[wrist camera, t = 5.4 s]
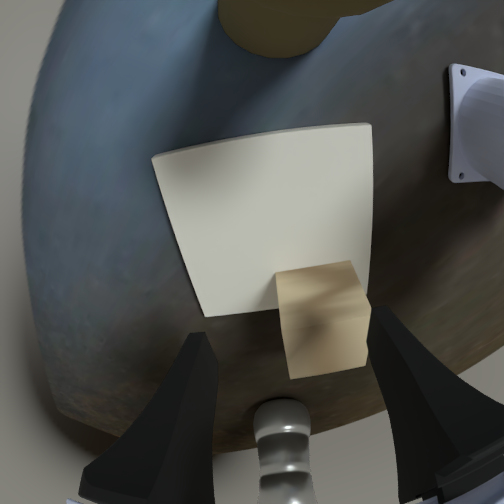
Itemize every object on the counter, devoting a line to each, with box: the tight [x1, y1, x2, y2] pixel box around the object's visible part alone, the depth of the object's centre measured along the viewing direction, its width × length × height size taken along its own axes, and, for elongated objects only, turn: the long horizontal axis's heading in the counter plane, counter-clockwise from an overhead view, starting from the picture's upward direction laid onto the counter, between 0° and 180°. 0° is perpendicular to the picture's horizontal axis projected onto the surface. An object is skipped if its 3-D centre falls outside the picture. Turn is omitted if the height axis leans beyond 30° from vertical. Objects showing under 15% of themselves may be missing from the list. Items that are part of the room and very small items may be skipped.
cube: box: [275, 260, 371, 379], centre depth 18 cm, size 5×5×5 cm
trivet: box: [151, 123, 373, 317], centre depth 18 cm, size 12×12×1 cm
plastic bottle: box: [253, 399, 317, 504], centre depth 23 cm, size 6×7×20 cm
